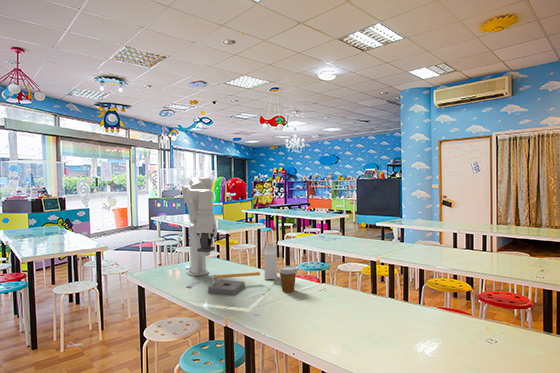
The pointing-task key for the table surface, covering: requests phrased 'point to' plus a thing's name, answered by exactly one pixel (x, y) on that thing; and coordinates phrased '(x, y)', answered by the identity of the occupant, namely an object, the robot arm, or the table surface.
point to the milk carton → (270, 262)
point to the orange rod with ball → (235, 275)
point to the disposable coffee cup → (287, 278)
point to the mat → (195, 283)
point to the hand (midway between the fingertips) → (206, 244)
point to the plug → (205, 245)
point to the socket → (226, 287)
